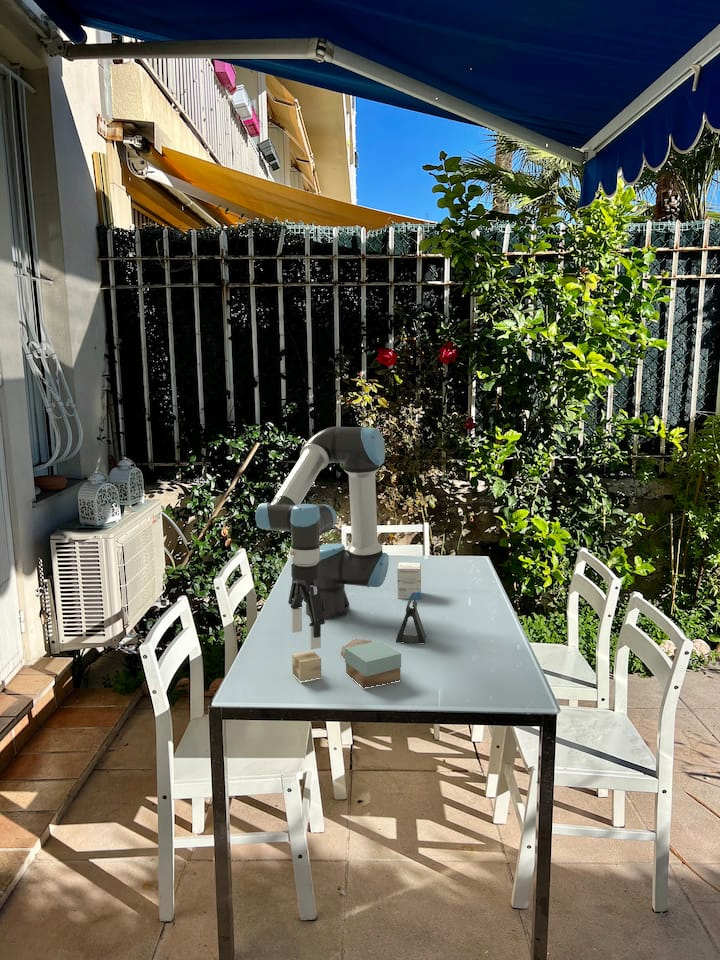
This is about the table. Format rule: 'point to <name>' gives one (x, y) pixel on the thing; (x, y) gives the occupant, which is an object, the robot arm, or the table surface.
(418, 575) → the ink box
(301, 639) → the table surface
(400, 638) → the phone stand
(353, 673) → the tower base
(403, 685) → the table surface
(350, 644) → the stone
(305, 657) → the oak block
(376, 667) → the tower top
